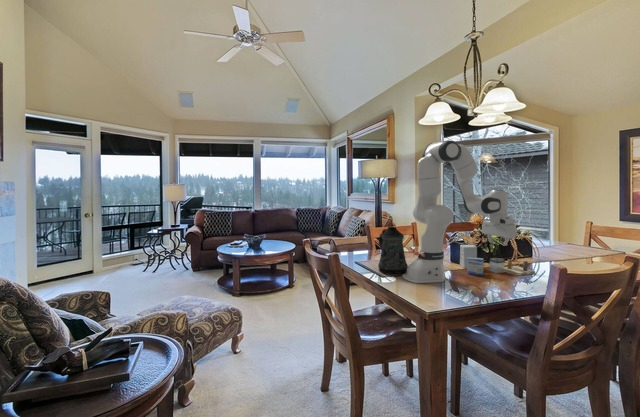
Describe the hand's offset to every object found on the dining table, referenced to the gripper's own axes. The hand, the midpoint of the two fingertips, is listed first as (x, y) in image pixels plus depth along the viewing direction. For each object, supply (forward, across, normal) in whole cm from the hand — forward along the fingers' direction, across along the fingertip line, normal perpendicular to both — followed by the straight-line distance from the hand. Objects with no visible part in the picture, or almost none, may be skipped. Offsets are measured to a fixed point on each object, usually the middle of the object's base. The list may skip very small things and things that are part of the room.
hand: (497, 243), depth 181 cm
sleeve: (+16, 0, 0) cm, 16 cm away
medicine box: (+16, -1, -14) cm, 21 cm away
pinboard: (+16, +4, +10) cm, 19 cm away
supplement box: (+16, -14, -7) cm, 22 cm away
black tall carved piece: (+15, -23, -54) cm, 61 cm away
